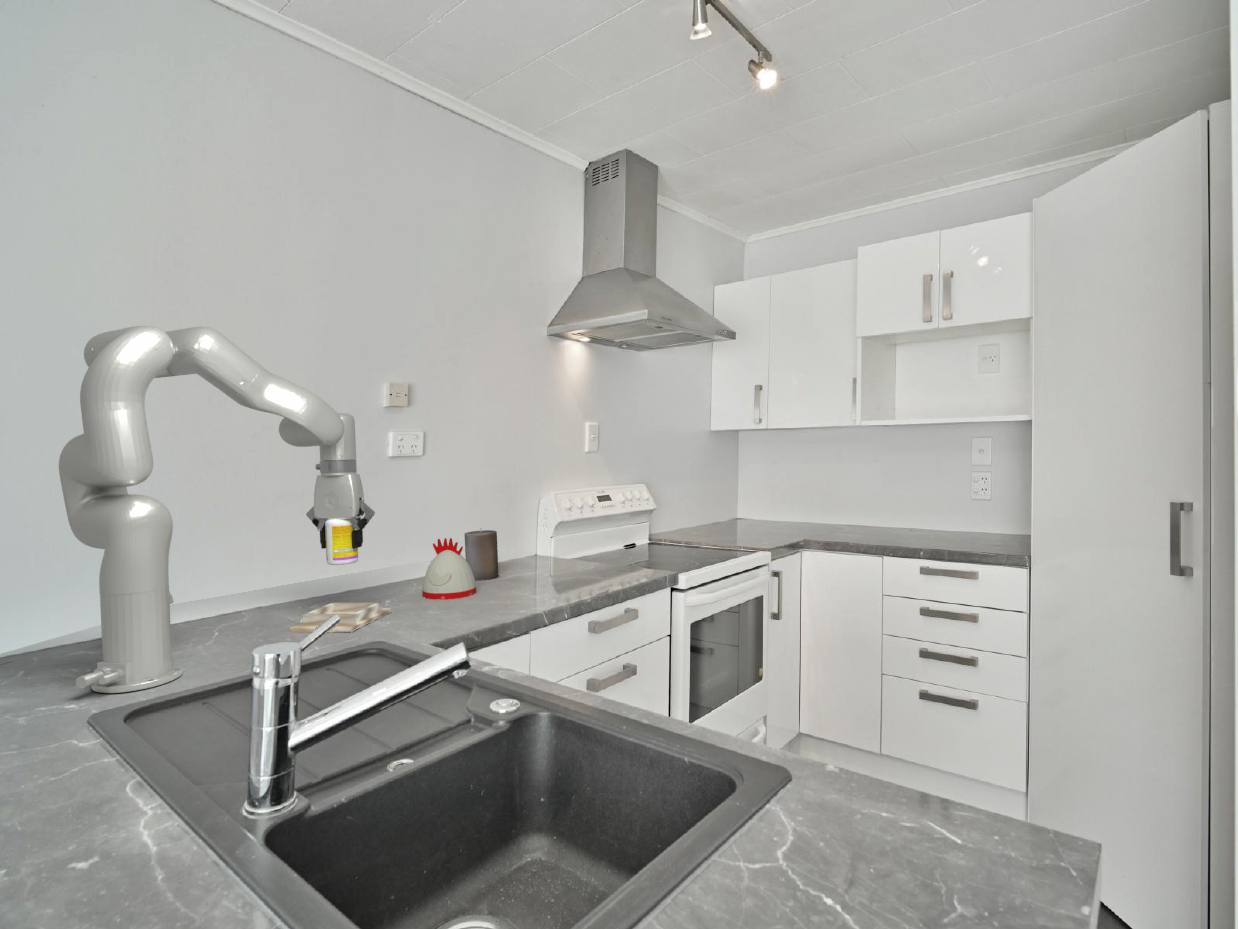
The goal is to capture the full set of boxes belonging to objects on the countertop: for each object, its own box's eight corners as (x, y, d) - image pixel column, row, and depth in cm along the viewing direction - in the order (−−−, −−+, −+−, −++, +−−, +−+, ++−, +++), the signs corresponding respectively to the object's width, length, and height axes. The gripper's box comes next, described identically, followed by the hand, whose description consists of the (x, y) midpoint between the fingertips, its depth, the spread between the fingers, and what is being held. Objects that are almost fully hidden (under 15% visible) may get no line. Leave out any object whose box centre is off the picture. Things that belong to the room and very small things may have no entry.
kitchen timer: (435, 588, 187) (434, 535, 187) (483, 588, 185) (481, 534, 185) (413, 599, 174) (412, 541, 173) (464, 600, 172) (463, 541, 171)
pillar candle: (503, 574, 206) (501, 525, 206) (491, 580, 196) (489, 529, 196) (473, 574, 208) (471, 526, 208) (460, 580, 198) (458, 530, 198)
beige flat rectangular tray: (351, 633, 142) (350, 618, 142) (290, 632, 144) (289, 618, 144) (391, 612, 160) (391, 599, 159) (336, 611, 161) (336, 599, 161)
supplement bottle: (364, 561, 153) (362, 505, 152) (338, 566, 147) (336, 508, 147) (346, 559, 156) (344, 504, 156) (320, 564, 151) (318, 507, 150)
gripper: (292, 470, 148) (296, 550, 149) (366, 468, 146) (369, 550, 146) (312, 468, 156) (315, 545, 156) (383, 467, 153) (386, 544, 154)
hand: (341, 546), depth 151 cm, fingers closed on supplement bottle, 6 cm apart
